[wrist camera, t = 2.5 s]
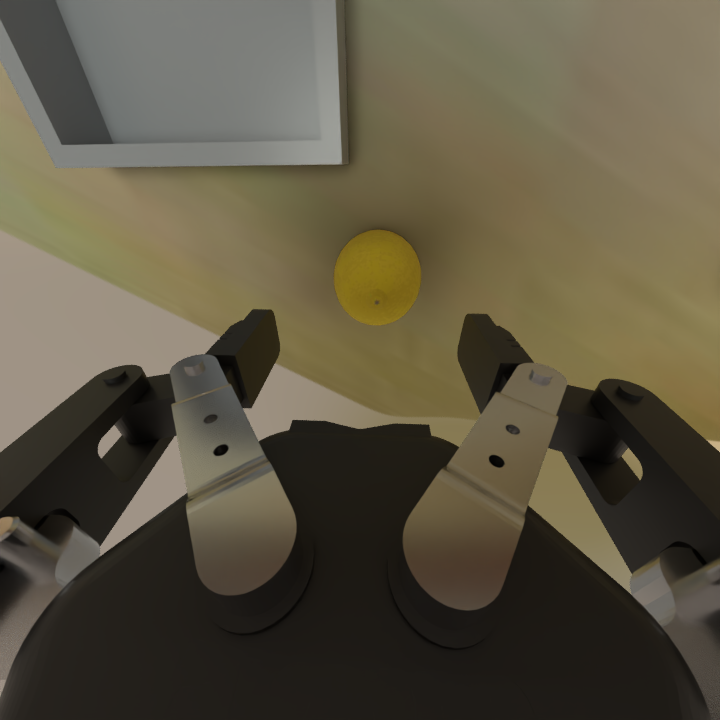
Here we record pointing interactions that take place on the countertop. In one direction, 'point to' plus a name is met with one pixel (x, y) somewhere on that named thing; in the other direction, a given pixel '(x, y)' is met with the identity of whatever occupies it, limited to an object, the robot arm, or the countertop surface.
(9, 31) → the box
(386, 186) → the countertop surface
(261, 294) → the countertop surface
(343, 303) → the lemon
